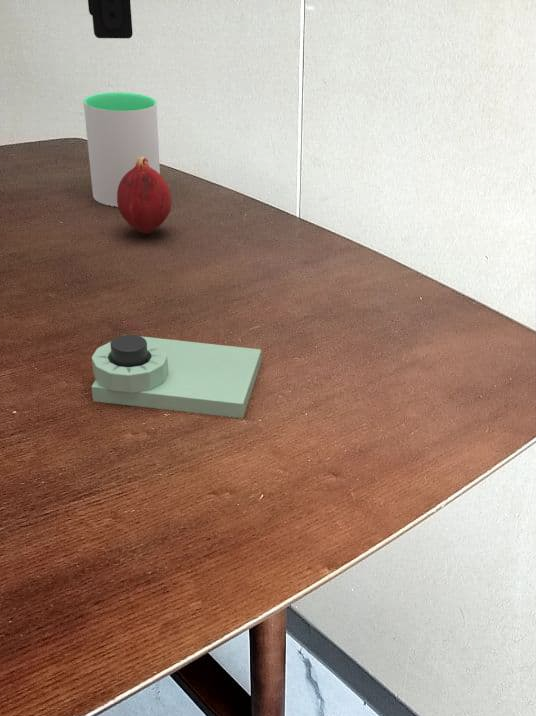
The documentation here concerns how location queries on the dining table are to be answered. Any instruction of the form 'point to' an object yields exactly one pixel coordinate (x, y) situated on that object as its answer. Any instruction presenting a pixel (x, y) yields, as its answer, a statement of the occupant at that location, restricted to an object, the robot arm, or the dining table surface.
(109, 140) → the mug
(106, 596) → the dining table surface
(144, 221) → the onion
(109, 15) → the robot arm
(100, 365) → the green dial panel
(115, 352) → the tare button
